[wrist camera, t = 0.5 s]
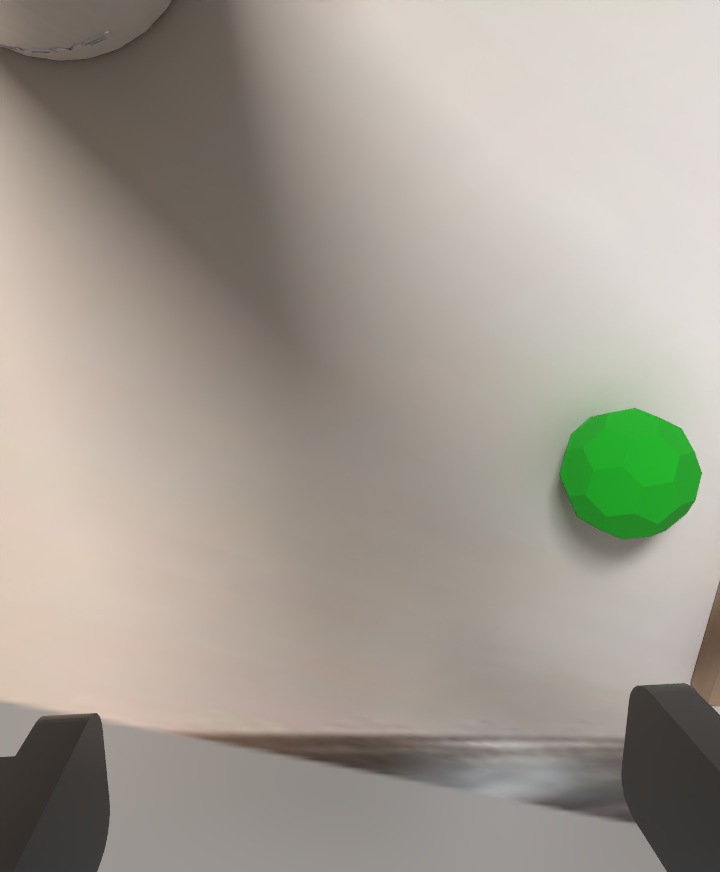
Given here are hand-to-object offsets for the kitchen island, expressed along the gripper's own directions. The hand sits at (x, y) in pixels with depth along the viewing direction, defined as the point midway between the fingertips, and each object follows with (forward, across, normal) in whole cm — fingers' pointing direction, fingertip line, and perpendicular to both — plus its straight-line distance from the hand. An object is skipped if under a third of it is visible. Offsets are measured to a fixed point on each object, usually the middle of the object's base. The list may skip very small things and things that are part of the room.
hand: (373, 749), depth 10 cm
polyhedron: (+17, -12, 0) cm, 21 cm away
